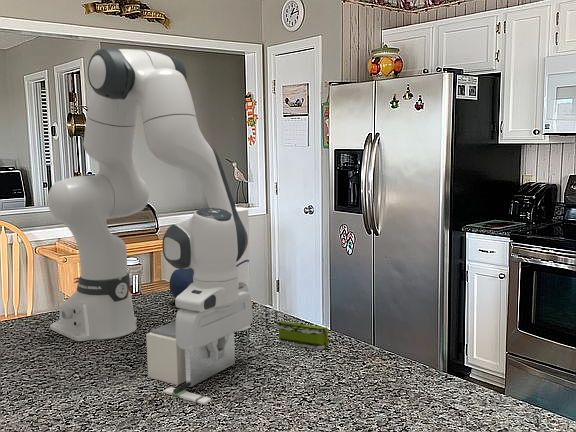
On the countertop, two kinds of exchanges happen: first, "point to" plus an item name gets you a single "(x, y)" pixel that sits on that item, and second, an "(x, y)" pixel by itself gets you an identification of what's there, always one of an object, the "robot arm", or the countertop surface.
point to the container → (243, 262)
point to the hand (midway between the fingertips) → (217, 358)
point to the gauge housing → (168, 361)
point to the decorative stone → (180, 280)
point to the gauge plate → (205, 364)
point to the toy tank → (302, 335)
